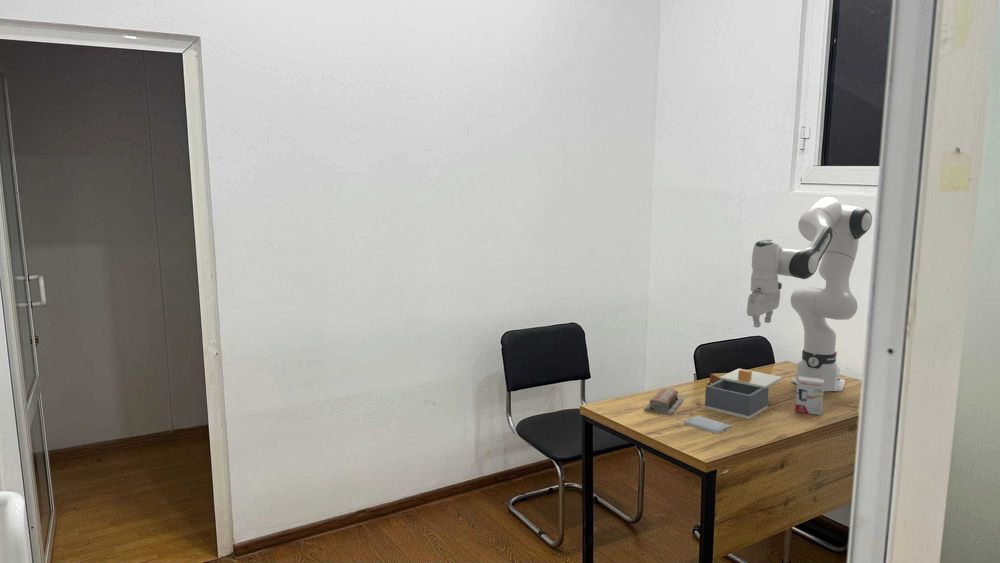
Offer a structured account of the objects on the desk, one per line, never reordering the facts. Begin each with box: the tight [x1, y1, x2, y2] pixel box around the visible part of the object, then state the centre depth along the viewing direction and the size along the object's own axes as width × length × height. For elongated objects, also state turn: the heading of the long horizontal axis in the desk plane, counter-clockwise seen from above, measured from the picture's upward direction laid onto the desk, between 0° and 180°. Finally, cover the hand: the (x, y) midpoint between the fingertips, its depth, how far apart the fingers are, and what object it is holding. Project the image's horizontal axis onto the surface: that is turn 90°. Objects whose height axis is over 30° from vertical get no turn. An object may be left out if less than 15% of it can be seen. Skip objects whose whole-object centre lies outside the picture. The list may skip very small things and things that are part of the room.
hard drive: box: [683, 415, 732, 435], centre depth 222 cm, size 2×8×12 cm
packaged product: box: [644, 388, 684, 416], centre depth 242 cm, size 18×5×10 cm
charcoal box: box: [704, 380, 770, 420], centre depth 240 cm, size 16×16×8 cm
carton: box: [709, 372, 729, 384], centre depth 264 cm, size 8×16×4 cm, turn 13°
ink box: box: [794, 376, 825, 416], centre depth 236 cm, size 9×5×12 cm, turn 67°
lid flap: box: [720, 368, 783, 389], centre depth 248 cm, size 17×17×4 cm
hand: (762, 324), depth 240 cm, fingers open, 8 cm apart
